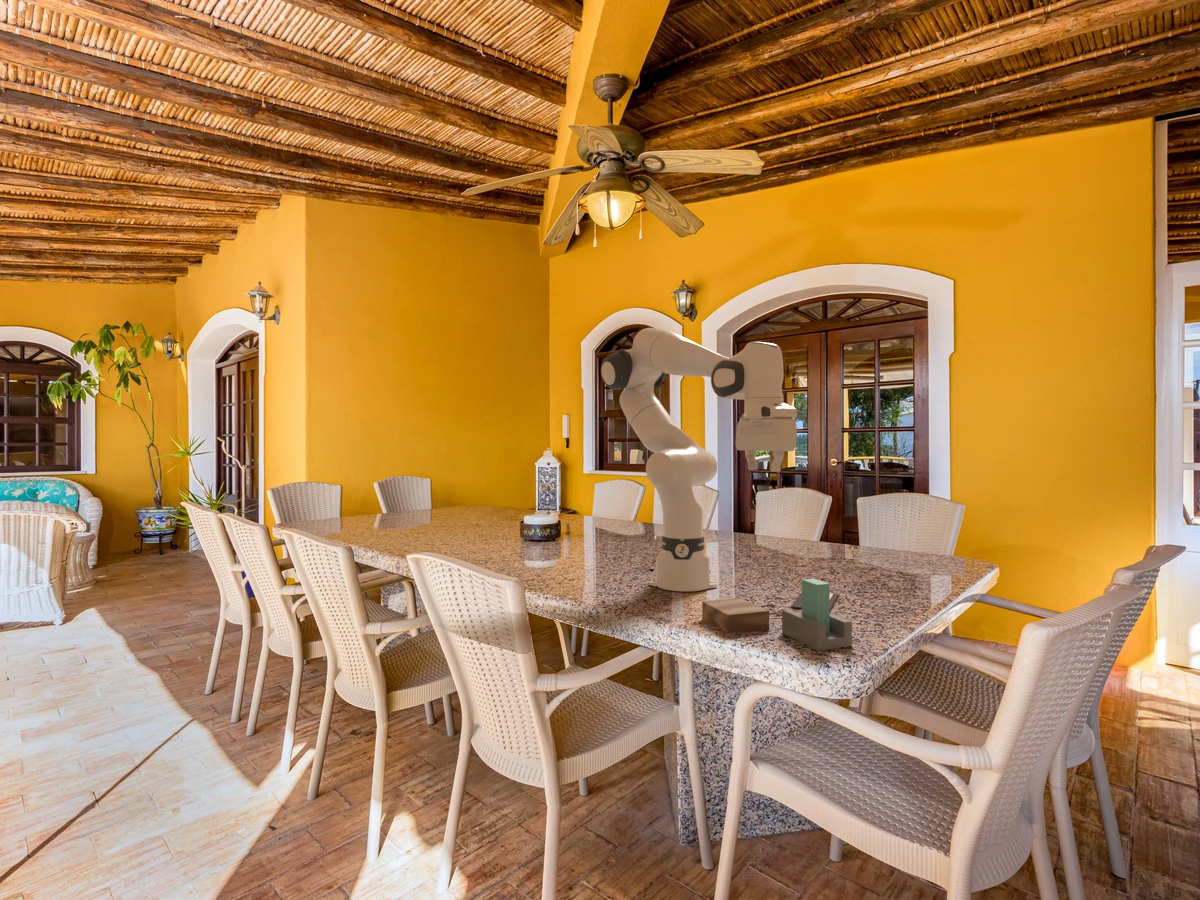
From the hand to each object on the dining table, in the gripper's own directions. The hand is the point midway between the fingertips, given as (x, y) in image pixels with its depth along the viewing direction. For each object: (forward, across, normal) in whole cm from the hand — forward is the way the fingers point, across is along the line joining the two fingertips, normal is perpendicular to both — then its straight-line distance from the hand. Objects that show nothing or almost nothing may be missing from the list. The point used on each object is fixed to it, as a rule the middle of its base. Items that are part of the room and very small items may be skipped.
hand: (763, 470), depth 148 cm
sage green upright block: (+32, +18, 0) cm, 37 cm away
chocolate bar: (+35, -7, +20) cm, 41 cm away
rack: (+34, +18, 0) cm, 39 cm away
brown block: (+34, +3, -9) cm, 35 cm away
